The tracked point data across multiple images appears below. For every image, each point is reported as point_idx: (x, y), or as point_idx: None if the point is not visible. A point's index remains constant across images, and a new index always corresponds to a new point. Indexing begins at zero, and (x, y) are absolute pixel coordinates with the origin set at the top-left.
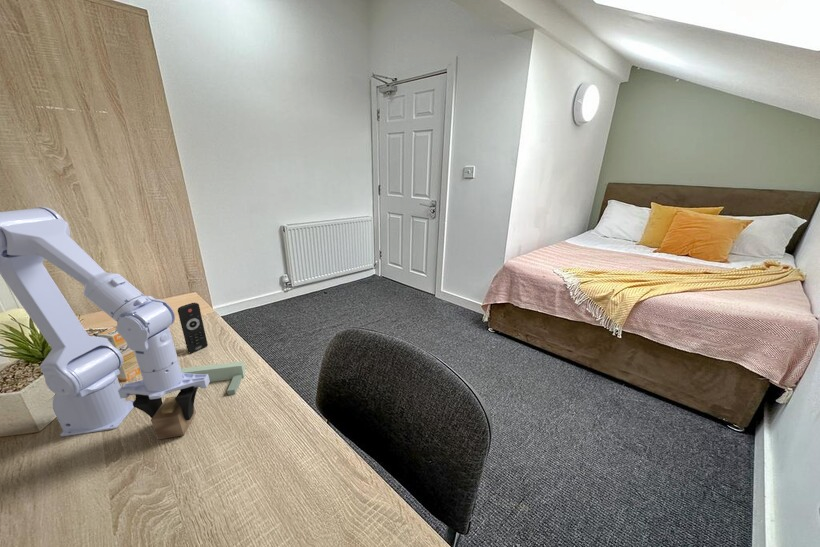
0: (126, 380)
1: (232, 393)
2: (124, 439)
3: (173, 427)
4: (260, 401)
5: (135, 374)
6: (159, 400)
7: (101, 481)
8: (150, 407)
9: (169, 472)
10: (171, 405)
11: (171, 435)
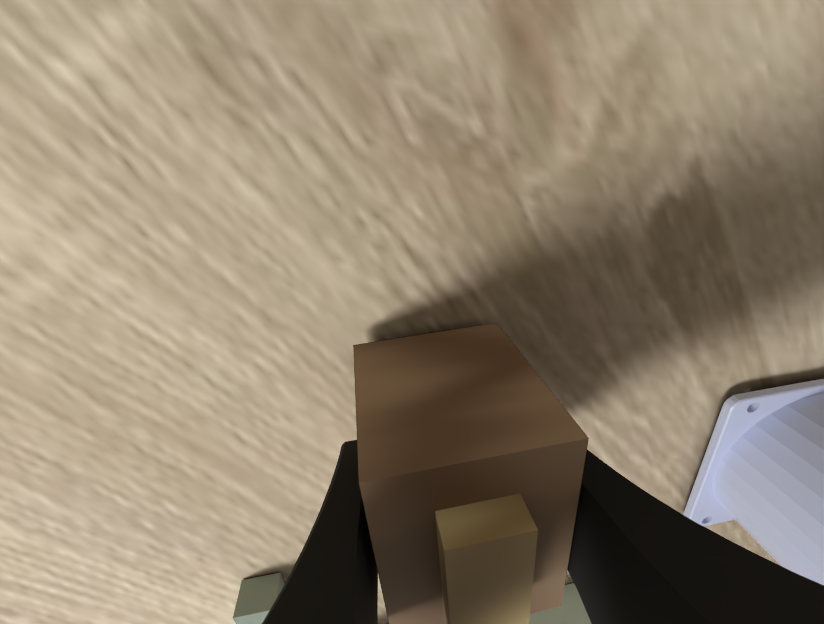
0: None
1: (252, 588)
2: (668, 337)
3: (407, 384)
4: (40, 557)
5: None
6: (599, 612)
7: (695, 39)
8: (655, 577)
9: (267, 36)
10: (470, 579)
11: (422, 341)
